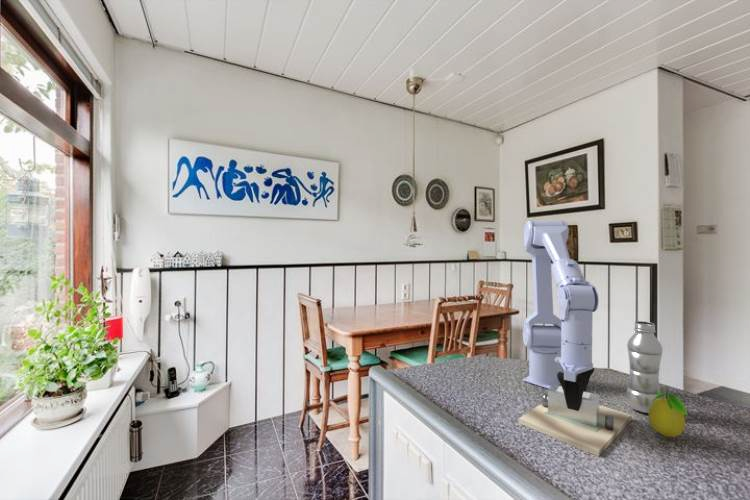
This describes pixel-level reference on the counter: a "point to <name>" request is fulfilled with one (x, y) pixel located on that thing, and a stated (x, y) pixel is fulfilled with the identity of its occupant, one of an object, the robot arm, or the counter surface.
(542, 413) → the pin tray
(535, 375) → the robot arm
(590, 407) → the block
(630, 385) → the plastic bottle
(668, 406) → the lemon
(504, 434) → the counter surface
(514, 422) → the counter surface
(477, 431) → the counter surface
